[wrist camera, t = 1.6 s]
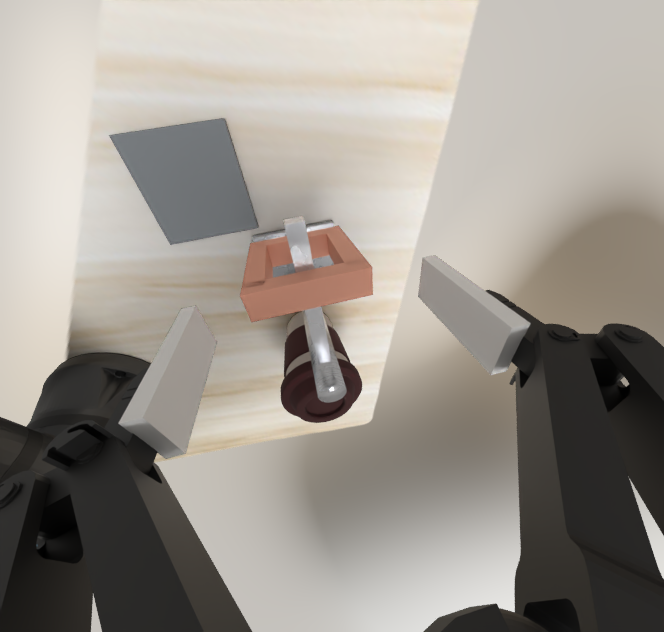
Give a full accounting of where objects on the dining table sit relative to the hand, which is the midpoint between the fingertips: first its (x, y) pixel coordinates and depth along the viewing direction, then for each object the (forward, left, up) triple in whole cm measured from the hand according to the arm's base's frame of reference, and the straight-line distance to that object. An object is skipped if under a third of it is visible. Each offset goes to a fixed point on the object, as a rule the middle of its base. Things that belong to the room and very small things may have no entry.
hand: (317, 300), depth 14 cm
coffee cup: (-1, -17, -19) cm, 26 cm away
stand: (0, -3, -19) cm, 19 cm away
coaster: (-9, +5, -19) cm, 22 cm away
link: (0, 0, -10) cm, 10 cm away
